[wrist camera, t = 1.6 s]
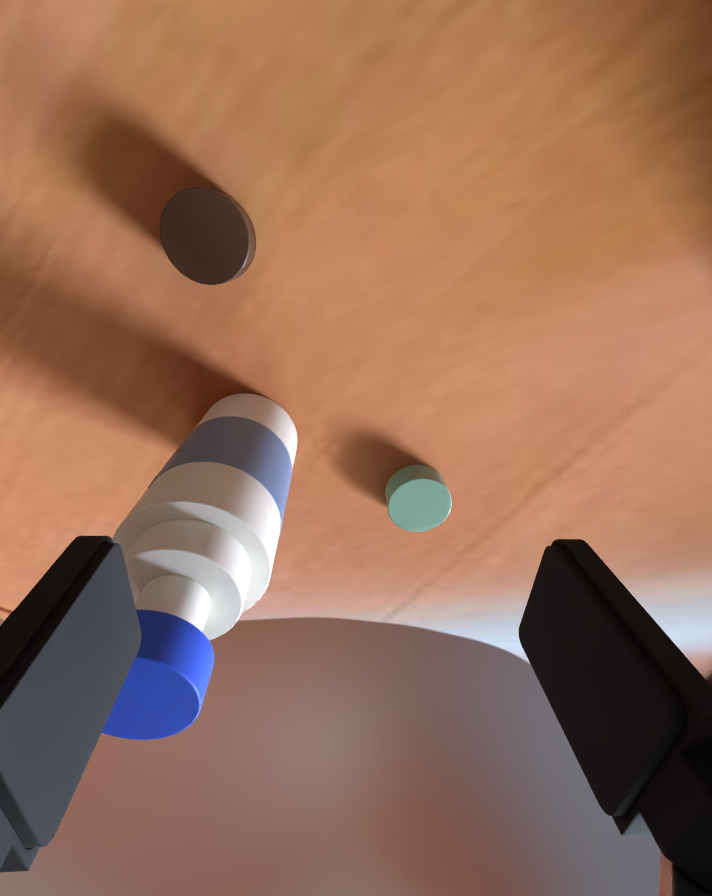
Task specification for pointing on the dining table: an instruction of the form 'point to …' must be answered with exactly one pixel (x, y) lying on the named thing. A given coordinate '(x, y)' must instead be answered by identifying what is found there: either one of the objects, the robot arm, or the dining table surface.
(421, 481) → the sage cylinder
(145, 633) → the cream bottle
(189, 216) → the brown disc
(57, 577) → the robot arm
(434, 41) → the dining table surface
